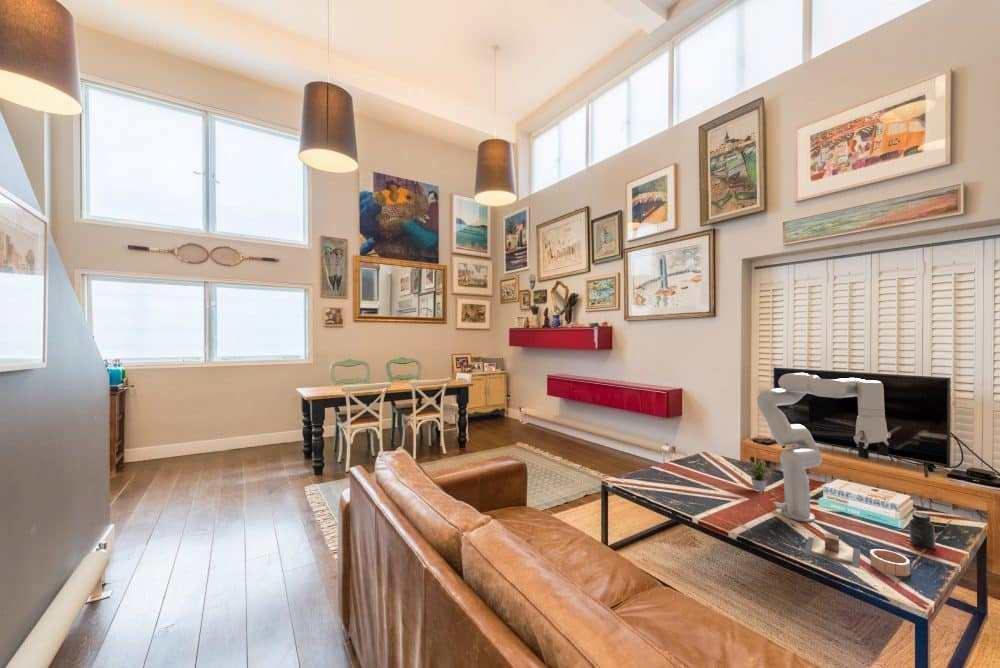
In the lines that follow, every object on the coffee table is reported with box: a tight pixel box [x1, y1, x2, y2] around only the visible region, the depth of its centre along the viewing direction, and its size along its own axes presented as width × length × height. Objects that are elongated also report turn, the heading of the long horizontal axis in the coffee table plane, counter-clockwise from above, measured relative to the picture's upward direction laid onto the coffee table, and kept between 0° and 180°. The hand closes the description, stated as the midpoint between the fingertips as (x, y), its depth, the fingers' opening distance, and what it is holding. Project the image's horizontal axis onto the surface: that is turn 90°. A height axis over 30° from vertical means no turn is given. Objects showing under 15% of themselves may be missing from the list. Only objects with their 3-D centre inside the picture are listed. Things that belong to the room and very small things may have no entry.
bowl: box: [870, 548, 911, 577], centre depth 142 cm, size 10×10×5 cm
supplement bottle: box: [909, 511, 936, 550], centre depth 157 cm, size 7×7×12 cm
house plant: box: [744, 458, 773, 491], centre depth 217 cm, size 14×14×16 cm
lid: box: [811, 532, 854, 564], centre depth 154 cm, size 12×12×6 cm
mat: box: [803, 536, 861, 569], centre depth 154 cm, size 16×16×1 cm
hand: (873, 456), depth 154 cm, fingers open, 9 cm apart
